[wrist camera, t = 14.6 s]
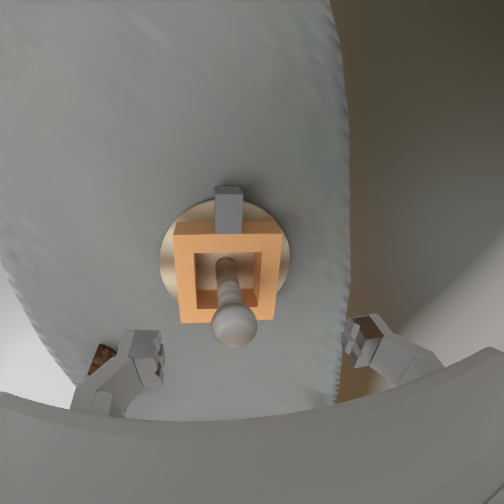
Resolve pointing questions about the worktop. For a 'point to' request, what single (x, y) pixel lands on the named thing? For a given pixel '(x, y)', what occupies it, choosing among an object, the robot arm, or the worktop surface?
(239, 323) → the round peg stand
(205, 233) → the orange square frame
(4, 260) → the worktop surface
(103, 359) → the food container
